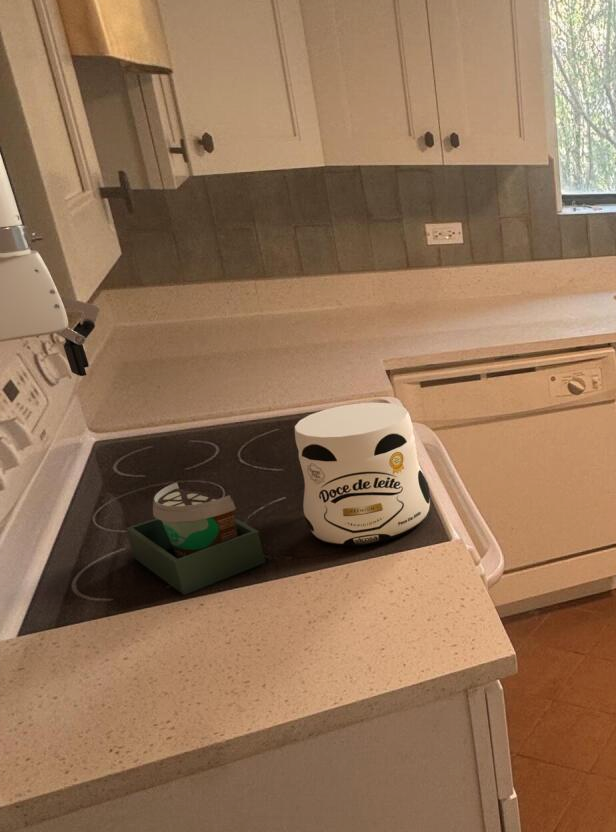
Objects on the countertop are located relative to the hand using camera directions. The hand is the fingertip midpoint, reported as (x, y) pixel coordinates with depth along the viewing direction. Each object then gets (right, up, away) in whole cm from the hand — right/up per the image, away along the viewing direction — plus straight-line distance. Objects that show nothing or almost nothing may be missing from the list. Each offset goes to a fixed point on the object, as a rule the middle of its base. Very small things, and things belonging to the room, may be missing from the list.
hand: (31, 383), depth 97 cm
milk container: (+31, -21, +24) cm, 45 cm away
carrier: (+12, -25, +14) cm, 31 cm away
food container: (+11, -25, +13) cm, 30 cm away
